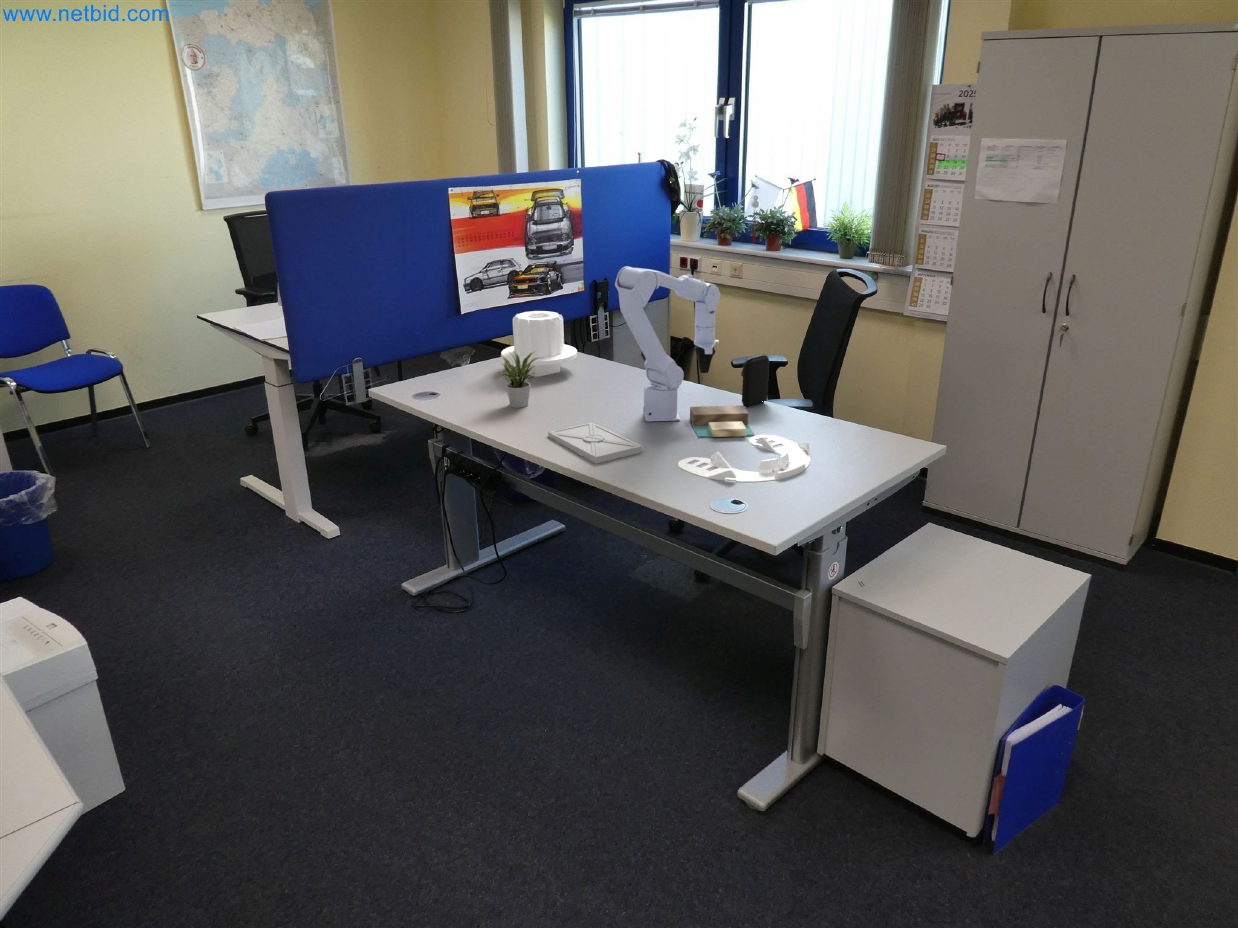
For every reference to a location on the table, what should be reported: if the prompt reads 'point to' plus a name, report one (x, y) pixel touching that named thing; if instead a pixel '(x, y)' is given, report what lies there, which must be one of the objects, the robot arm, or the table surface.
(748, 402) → the carrying case or bag
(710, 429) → the cream rectangular block
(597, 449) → the envelope
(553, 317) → the flanged gear
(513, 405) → the house plant
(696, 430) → the teal mat
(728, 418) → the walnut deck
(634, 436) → the table surface
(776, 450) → the cable organizer
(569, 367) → the table surface
